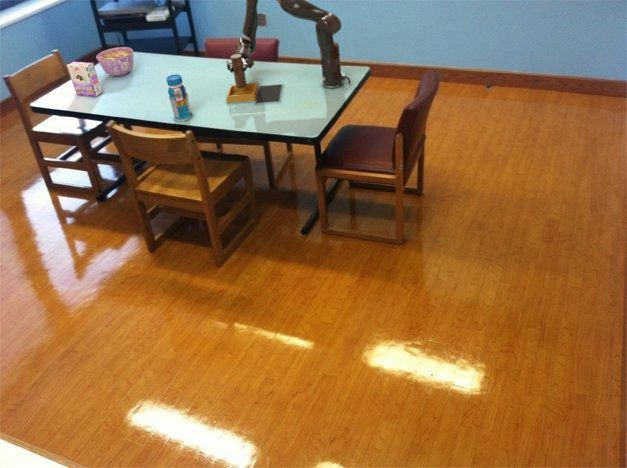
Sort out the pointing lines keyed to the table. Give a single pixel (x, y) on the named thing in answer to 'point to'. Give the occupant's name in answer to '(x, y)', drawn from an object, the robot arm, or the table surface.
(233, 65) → the brown cylinder
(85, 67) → the candy box
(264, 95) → the mat
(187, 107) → the beverage bottle
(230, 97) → the bin
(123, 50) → the bowl of food
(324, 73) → the robot arm
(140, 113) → the table surface
